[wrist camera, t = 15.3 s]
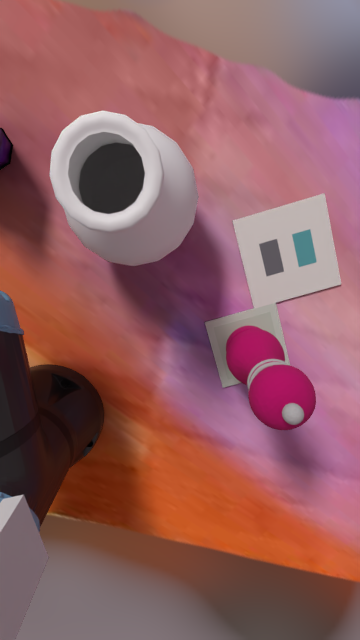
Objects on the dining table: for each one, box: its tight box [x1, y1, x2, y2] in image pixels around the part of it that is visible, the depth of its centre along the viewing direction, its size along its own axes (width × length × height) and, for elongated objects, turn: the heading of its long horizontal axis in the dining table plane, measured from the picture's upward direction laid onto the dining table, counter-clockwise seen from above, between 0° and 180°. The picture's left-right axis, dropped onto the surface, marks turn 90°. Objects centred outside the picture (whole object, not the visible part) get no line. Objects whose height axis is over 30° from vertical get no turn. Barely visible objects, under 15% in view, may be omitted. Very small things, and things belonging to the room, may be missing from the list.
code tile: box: [232, 194, 341, 309], centre depth 44 cm, size 12×12×1 cm
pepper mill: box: [226, 326, 316, 430], centre depth 37 cm, size 7×7×20 cm
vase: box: [50, 111, 199, 266], centre depth 33 cm, size 14×14×20 cm
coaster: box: [205, 303, 290, 388], centre depth 47 cm, size 10×10×1 cm
